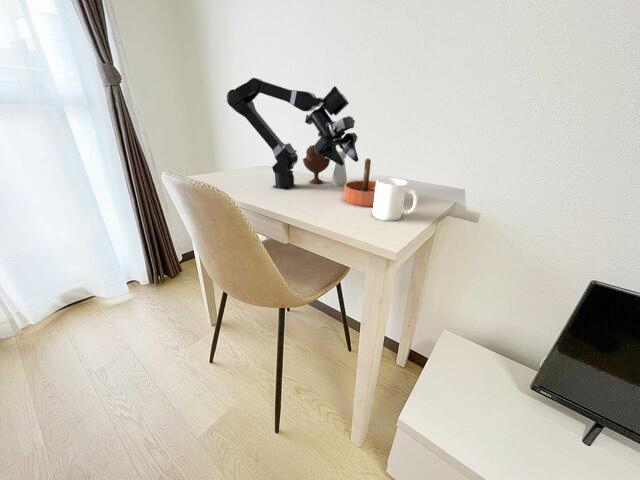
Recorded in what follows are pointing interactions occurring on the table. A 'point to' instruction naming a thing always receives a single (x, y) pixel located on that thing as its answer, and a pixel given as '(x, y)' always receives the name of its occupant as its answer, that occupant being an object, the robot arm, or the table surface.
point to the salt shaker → (340, 172)
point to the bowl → (359, 193)
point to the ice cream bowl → (315, 164)
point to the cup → (392, 199)
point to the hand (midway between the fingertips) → (350, 163)
